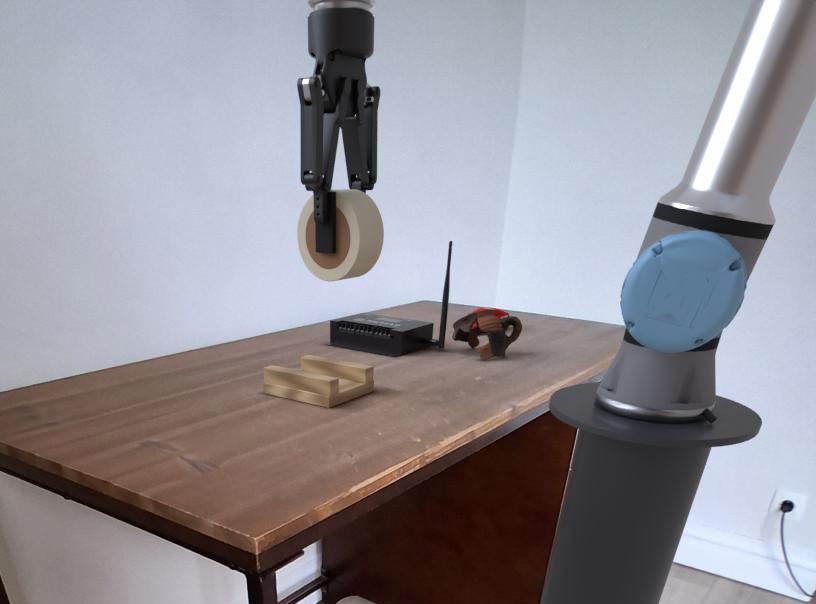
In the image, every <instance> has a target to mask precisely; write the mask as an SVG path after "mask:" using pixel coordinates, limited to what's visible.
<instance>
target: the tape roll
mask: <svg viewBox="0 0 816 604" xmlns="http://www.w3.org/2000/svg"><path fill="white" fill-rule="evenodd" d="M328 192H336V253H334V254H329V253H316V238H315V221H314V203H313V194H312V195H311V196H310V197H309V198H308V199H307V200H306V202H305V203H304V205H303V207H302V209H301V211H300V214H299V217H298V221H297V230H296V232H297V233H296V234H297V238H296V239H297V245H298V251H299V254H300V257H301V259H302V261H303V263H304V265H305V267H306V268H307V269H308V271H309V272H310V273H311V274H312V275H313V276H314V277H316V278H317V279H319V280H321V281H324V282H336V281H341V280H342V281H344V280H348V279H353V278H360V277H362V276H364V275H366V274H367V273H369V272H370V271H371V270H372V269H373V268H374V267H375V265H376V264H377V262H378V260H379V259H380V256H381V254H382V251H383V247H384V241H385V239H384V238H385V228H384V223H383V217H382V214H381V212H380V209H379V207H378V206H377V204H376V203H375V201H374V200H373V198H371V197H370V196H369V194H368V193H367V192H366V193H364V192H362V191H360V190H356V189H350V188H347V189H345V188H342V189H331V190H330V191H328Z"/></svg>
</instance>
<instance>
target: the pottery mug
mask: <svg viewBox="0 0 816 604" xmlns="http://www.w3.org/2000/svg"><path fill="white" fill-rule="evenodd" d="M521 322H522V321H521V320H520V318H519V317H517V316H516V315H515V316H513V315H509V317H506V318H503V319H499V318H497V317H496V316H494V311H493V310H492V309H486V310H481V311H478V312H474V313H472V312H470V314H469V315H468V314H466V315H464V316H462V317H461V318H459V319H458V320H456V321H455V322H454V323H453V324H452V327H453V330H454V331H453V334H452V336H451V337H452V339H453V341H454V342H457V341H459V342H463V343H467V344H468V346H469V347H470V348H471V349H472V350H473V349H475V348H477V347H478V346H479V345H480V339H479V337H478V336H479V335H477V333H478V332H479V331H481V330H482V331H483V332H484V333H486V336H487V339H488V343H486V344H483V345H481V346H479V347H478V353H479V356H480V357H479V358H480V360H481V361H484V360H485V361H486V360H487V359H488V360H489V359H491V358H496V357H498V358H500V357H502V358H505V357H506V351H507V349H508V348H509V346H510V345H511V344H512V343H514V342H517V340H518V338H519V337H520V336H521V334H522V331H523V323H521ZM474 323H476V327H475V328H473V329H471V327H472V326H473V324H474ZM510 326H512V332H511V334H510V335H507V333H506V332H507V329H508V328H509V327H510ZM483 332H482V333H483Z"/></svg>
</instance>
